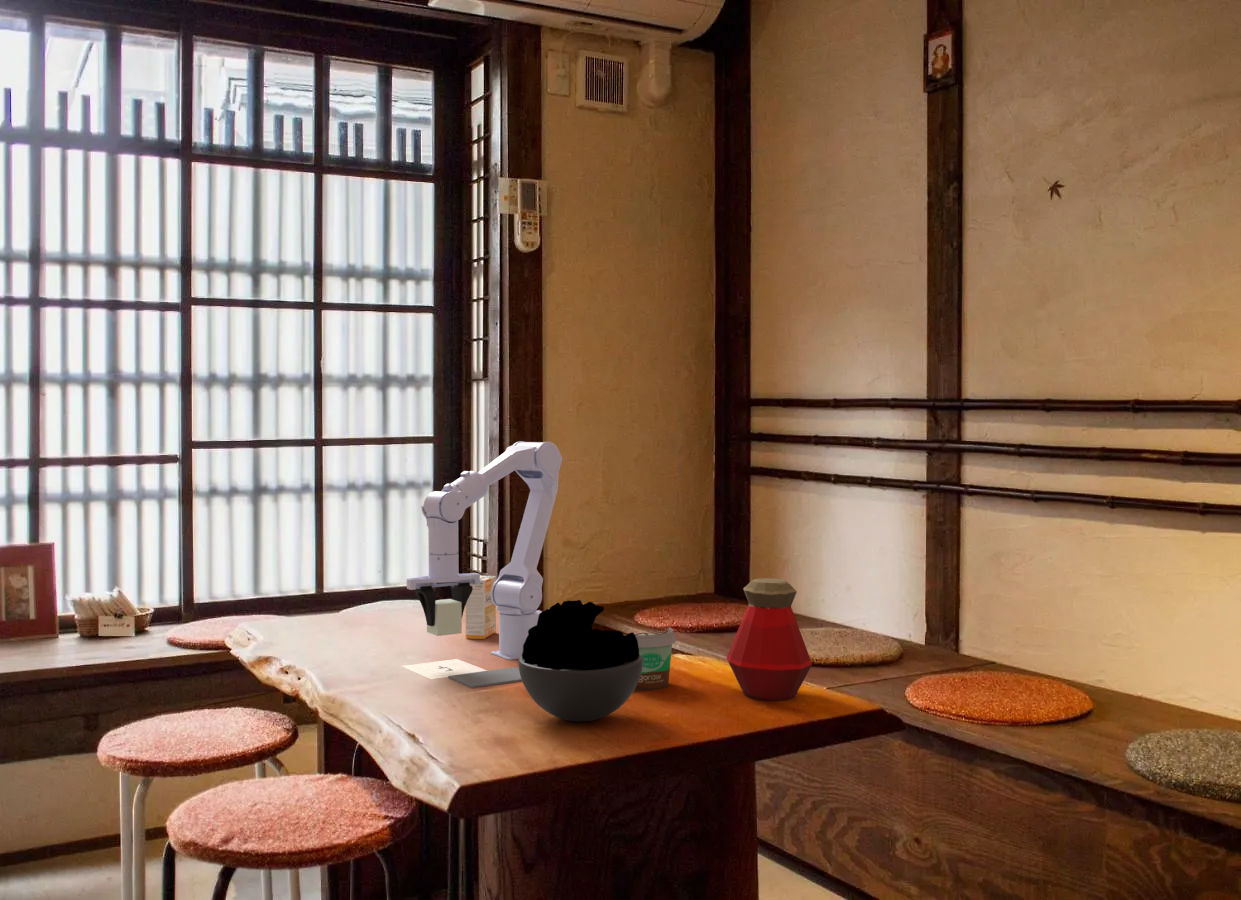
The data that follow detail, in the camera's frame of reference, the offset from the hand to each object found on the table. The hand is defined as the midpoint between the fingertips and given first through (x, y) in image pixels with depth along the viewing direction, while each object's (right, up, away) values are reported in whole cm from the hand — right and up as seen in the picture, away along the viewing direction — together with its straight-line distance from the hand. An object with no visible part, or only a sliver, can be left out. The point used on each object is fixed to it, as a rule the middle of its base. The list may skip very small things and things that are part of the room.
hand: (444, 623), depth 224 cm
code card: (0, -9, 0) cm, 9 cm away
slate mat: (+11, -9, -8) cm, 16 cm away
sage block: (0, -2, 0) cm, 2 cm away
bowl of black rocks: (+28, -10, -38) cm, 48 cm away
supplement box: (+3, -8, +36) cm, 37 cm away
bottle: (+60, -9, -21) cm, 64 cm away
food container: (+39, -9, -16) cm, 43 cm away
